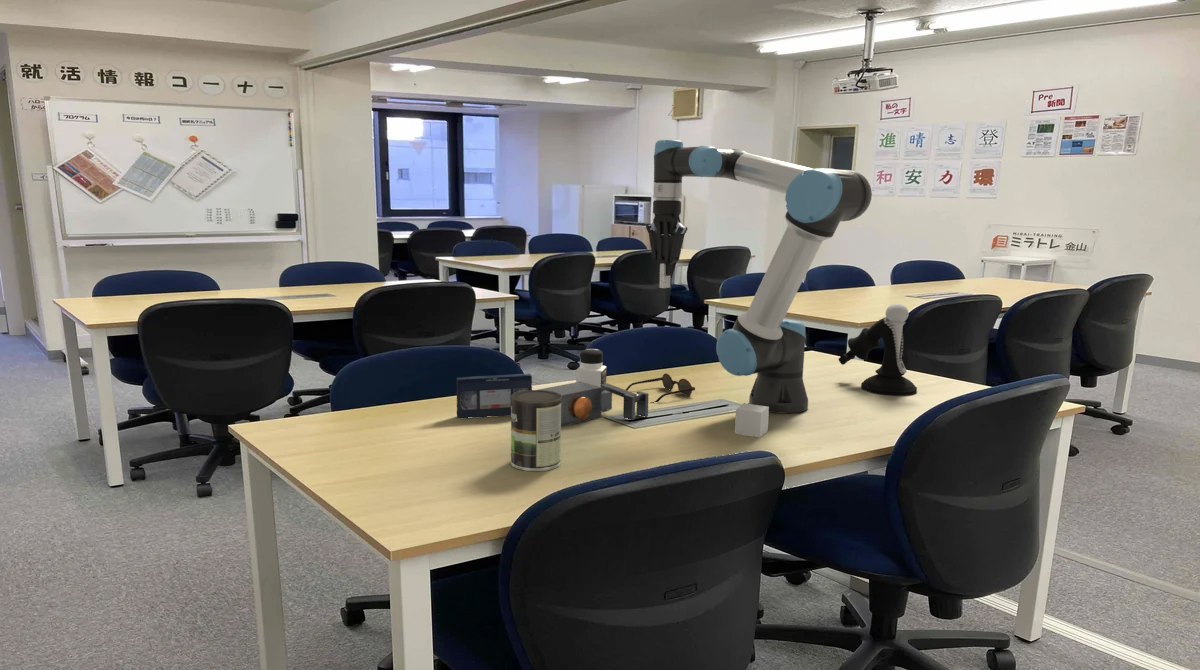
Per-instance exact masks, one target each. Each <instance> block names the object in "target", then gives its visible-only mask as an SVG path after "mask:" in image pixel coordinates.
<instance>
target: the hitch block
mask: <svg viewBox="0 0 1200 670" xmlns="http://www.w3.org/2000/svg"><path fill="white" fill-rule="evenodd" d="M537 390H546V391H552V392H556V393H559V394H560V395H562V401H561V427H564V425H565V426H569V424H570V425H573V423H574V424H577V423H582V422H586V420H587V421H590V419H591V420H595V419H600V418H602V410H601V392H602V387H598V386H595V385H591V384H587V383H583V382H576V381H575V382H571V383H570V382H569V383H566V384H561V385H555V386H550V387H543V388H539V389H537ZM581 396H582V397H586V398H588V399H590V401H591V403H592V410H591V413H590V414H589V416H588V417H587V418H585V419H580V418H577V417H575V416H574V415H573V413H572V405H573V400H574V399H576V398H578V397H581Z"/></svg>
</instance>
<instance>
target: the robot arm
mask: <svg viewBox="0 0 1200 670" xmlns="http://www.w3.org/2000/svg"><path fill="white" fill-rule="evenodd" d="M683 142H684V141H682V140H678V139H659V140H657V141H656V142H655V144H654V152H653V153H654V154H653V194H652V195H653V199H655V200H653V202H652V213H653V215H654V218H653V220H652V223H650V224H647V225H646V226H645V229H646V231H647V233H648V238H649V243H650V244H649V245H650V251H651V257H652V260H653V261H656V262H657V265H658V268H657V271H658V273H657V274H658V275H659V288H660V289H669V288H671V276H673V265H674V263H677V262H679V261H680V257H681V254H682V253H681V252H682V249H683V244H684V237H685V235H686V233H687V231H688V226H685V225H683V224H682V222H681V218H680V215H681V213H682V201H681V200H680V199H682V197H683V196H682V195H683V194H682V193H683V192H682V189H683V187H682V186H683V177H685V178H686V177H690V178H691V177H695V178H697V177H698V178H722V179H723V178H725V179H729V180H733V181H737V182H742V183H744V184H748V185H751V186H752V185H753V186H755V187H759V188H762V189H763V188H764V189H766V190H769V191H770V190H771V191H775V192H777V193H781V194H784V195H785V198H784V201H785V202H786V205H785V207H786V210H787V211H786V213H785V216H784V218H785V221H786V223H787V227H786V229H785V231H784V233H783V235H782V237H781V239H780V241H779V244H778V245H777V247H776V249H775V252H774V254H773V257H772V258H771V260H770V262H769V265H768V267H767V269H766V272H765V274H764V275H763V277H762V280H761V282H760V284H759V285H758V288H757V290H756V292H755V294H754V297H753V299H752V301H751V303H750V306H749V308H748V309H747V311H743V312H741V313H739V314H738V316H737V318H736V320H735V322H734V324H733V326H732V327H731V328H728V329H725V331H723V332H722V333H721V334H719V337H718V338H717V340H716V341H717V342H716V349H715V350H716V354H717V356H718V361H719V363H720V365H721V366H722V368H723V369H724V370H725V371H726V372H728V373H729V374H731V375H733V376H737V377H741V376H743V377H744V376H746V377H747V376H751V375H754V374H756V378H755V381H754V384H753V386H752V389H751V390H750V393H749V398H748V404H753V405H760V406H767V407H769V413H777V414H793V413H796V414H797V413H802V412H806V410H808V409H809V397H808V395H807V390H806V387H805V382H804V363H805V349H806V348H805V346H806V339H807V336H806V326H805V324H804V323H803V322H801V321H798V320H791V319H785V317H786V315H787V314H788V311H789V310H790V308H791V304H792V302H794V299H795V297H796V295H797V293H798V291H799V290H800V288H801V285H802V283H803V281H804V279H805V277H806V275H807V273H808V271H809V269H810V266H811V265H812V263H813V261H814V259H815V258H816V254H817V253H818V251H819V250H820V247H821V245H822V243H823V242H824V241H825V240H830V239H832V238H833V237H834V234H835V232H836V230H837V228H838V227H839V225H840V223H841V222H848V221H849V222H850V221H853V220H856V219H857V218H859V217H861V216H862V215H863V214H865V212H866V211H867V209H868V208H869V206H870V204H871V201H872V196H873V195H872V187H871V185H870V183H869V180H868V179H867V178H866V177H865V176H864V175H863V174H861V173H860V172H858V171H854V170H851V169H835V168H826V167H816V168H812V167H807V166H804V165H799V164H795V163H791V162H787V161H783V160H778V159H775V158H770V157H765V156H761V155H757V154H752V153H749V152H746V151H745V150H742V149H739V148H738V149H736V148H731V149H729V148H719V147H715V146H709V145H700V146H688V147H687V146H686V147H685V146H684V143H683Z"/></svg>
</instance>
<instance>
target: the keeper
mask: <svg viewBox="0 0 1200 670" xmlns="http://www.w3.org/2000/svg"><path fill="white" fill-rule="evenodd" d="M601 387H602V389H603V390H606V391H608V392H611V393H612V395H616V396H619V397H622V398H624V395H625V394H628V395H632V396H635V403H637V402H640V401H643V399H644V397H643V394H642V393H638V394H637V393H635V392H631V391H629V390H626V389H623V388H620V387H618V386H615V385H614V384H610V383H608V382H606V384H602V385H601Z"/></svg>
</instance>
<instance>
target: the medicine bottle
mask: <svg viewBox="0 0 1200 670" xmlns="http://www.w3.org/2000/svg"><path fill="white" fill-rule="evenodd" d="M603 357H604V353H603V351H602V350H600V349H598V348H597V349H596V348H587V349H583V350H581V351H580V365H579V367H578V368H577V369H576V370H575V372H576V373H575V382H583V383H587V384H591V385H595V386H598V387H601V385H602V384H607V366H606V365H603V364H604V361H603V359H604V358H603ZM602 391H606V390H603V389H602Z"/></svg>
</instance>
